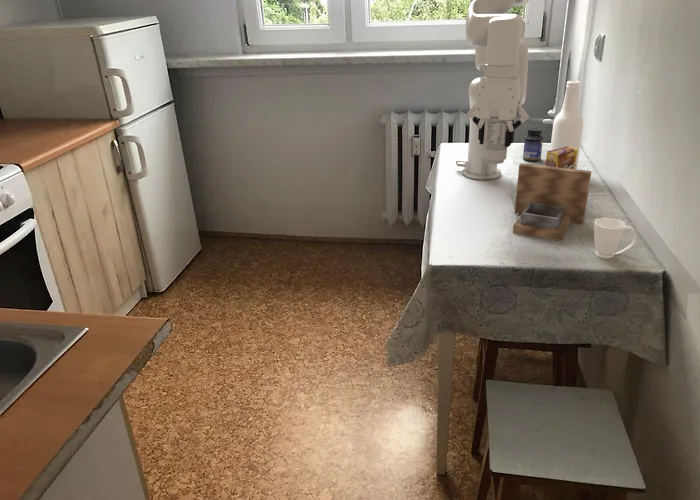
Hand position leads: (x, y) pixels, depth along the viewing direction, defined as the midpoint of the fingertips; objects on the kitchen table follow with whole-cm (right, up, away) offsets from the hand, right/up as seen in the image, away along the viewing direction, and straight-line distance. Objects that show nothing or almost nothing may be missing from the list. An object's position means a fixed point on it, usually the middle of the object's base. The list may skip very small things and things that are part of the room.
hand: (495, 143), depth 148 cm
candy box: (+23, -13, +21) cm, 34 cm away
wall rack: (+14, -21, +5) cm, 25 cm away
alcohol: (+32, -3, +41) cm, 52 cm away
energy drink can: (0, -4, +2) cm, 5 cm away
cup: (+24, -29, -11) cm, 39 cm away
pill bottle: (+28, +5, +58) cm, 65 cm away
